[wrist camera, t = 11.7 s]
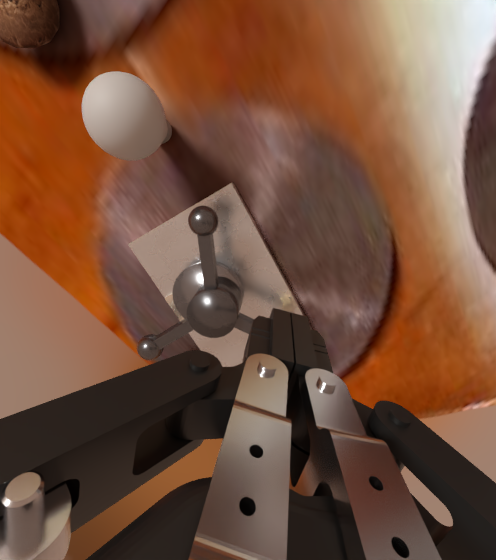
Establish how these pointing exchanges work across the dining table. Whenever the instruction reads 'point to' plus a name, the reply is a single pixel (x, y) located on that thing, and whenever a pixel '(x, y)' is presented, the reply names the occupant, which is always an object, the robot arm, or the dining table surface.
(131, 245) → the stand
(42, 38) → the mushroom
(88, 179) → the dining table surface
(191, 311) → the silver lever
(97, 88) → the lightbulb
